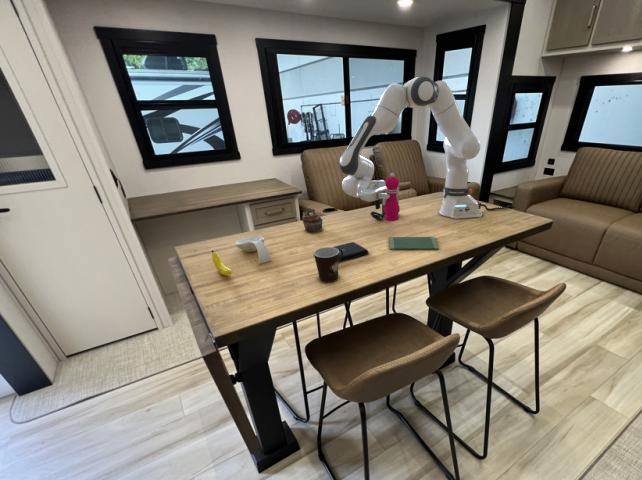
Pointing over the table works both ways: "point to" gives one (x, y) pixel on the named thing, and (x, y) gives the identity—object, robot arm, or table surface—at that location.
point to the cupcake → (312, 221)
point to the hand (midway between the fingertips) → (393, 195)
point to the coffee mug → (327, 263)
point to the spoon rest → (255, 247)
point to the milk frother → (377, 205)
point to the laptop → (351, 251)
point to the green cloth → (413, 243)
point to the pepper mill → (391, 199)
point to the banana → (220, 265)
